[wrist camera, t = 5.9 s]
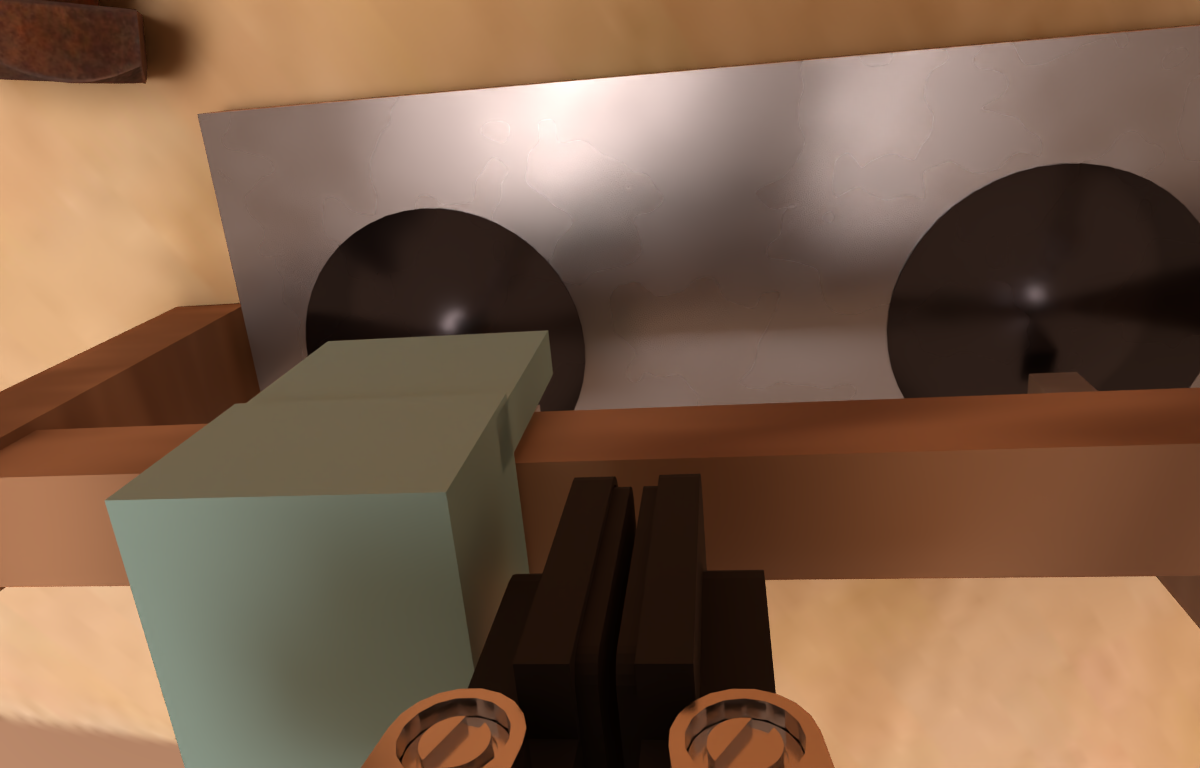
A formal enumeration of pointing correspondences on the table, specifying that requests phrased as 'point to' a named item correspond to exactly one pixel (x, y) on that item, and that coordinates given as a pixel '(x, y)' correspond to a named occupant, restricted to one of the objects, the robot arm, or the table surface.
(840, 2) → the table surface
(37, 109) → the table surface
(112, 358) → the beam
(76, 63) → the bolt
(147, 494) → the slider block
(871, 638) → the table surface
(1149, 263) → the hole plate
